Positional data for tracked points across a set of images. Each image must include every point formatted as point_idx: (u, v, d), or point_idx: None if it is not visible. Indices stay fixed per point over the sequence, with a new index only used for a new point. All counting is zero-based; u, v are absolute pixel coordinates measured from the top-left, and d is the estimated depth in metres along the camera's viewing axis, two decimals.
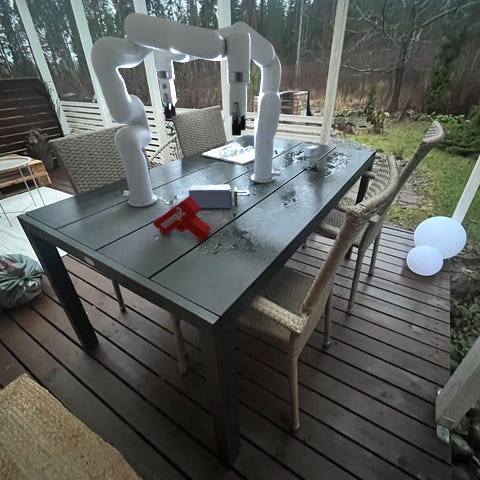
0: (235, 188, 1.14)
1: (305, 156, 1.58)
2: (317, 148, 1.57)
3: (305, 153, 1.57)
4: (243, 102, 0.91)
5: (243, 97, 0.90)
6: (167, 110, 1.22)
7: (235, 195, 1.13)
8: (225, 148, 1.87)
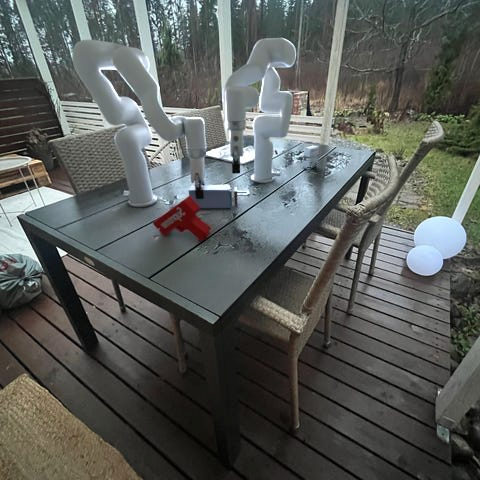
0: (235, 188, 1.14)
1: (305, 156, 1.58)
2: (317, 148, 1.57)
3: (305, 153, 1.57)
4: (203, 172, 1.06)
5: (202, 168, 1.06)
6: (236, 164, 1.05)
7: (235, 195, 1.13)
8: (225, 148, 1.87)
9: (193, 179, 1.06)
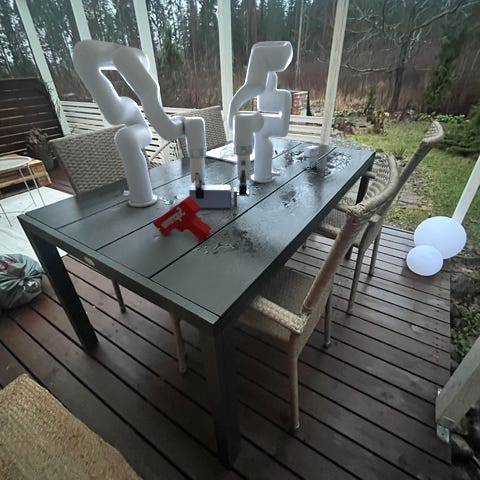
0: (235, 188, 1.14)
1: (305, 156, 1.58)
2: (317, 148, 1.57)
3: (305, 153, 1.57)
4: (203, 172, 1.06)
5: (203, 168, 1.05)
6: (243, 186, 1.11)
7: (235, 195, 1.13)
8: (225, 148, 1.87)
9: (193, 179, 1.06)
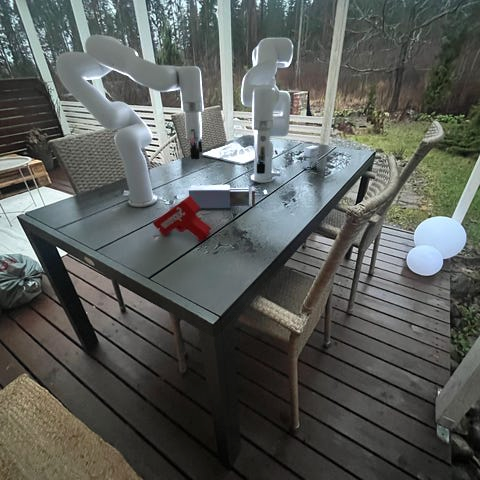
0: (253, 188, 1.14)
1: (305, 156, 1.58)
2: (317, 148, 1.57)
3: (305, 153, 1.57)
4: (199, 129, 0.98)
5: (199, 124, 0.97)
6: (261, 164, 1.07)
7: (253, 195, 1.13)
8: (225, 148, 1.87)
9: (188, 133, 0.97)
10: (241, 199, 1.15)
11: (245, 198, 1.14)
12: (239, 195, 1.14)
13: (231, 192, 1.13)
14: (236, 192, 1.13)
